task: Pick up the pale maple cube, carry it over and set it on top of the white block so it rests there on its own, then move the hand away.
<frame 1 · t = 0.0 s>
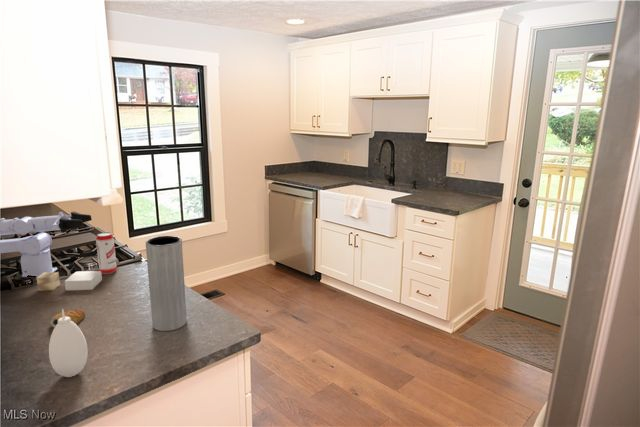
hand: (86, 220, 159), 22 cm above the table, tool horizontal, fingers open, 7 cm apart
white block: (84, 285, 152), on the table
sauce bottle: (72, 375, 101), on the table
maple cube: (49, 287, 149), on the table
pastry: (68, 323, 126), on the table
vase: (169, 323, 126), on the table
beer can: (108, 272, 165), on the table
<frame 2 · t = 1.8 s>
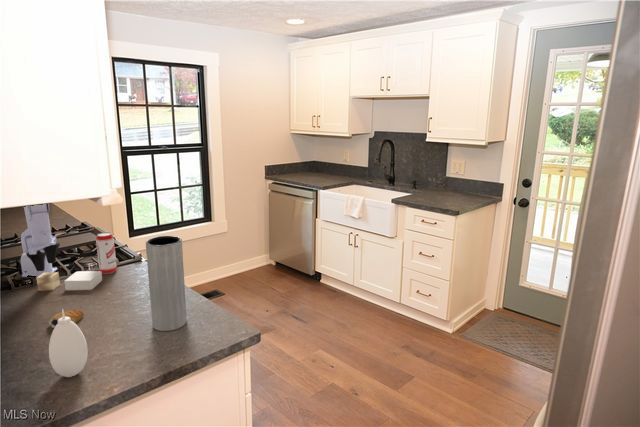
hand: (46, 266, 147), 8 cm above the table, tool pointing down, fingers open, 7 cm apart
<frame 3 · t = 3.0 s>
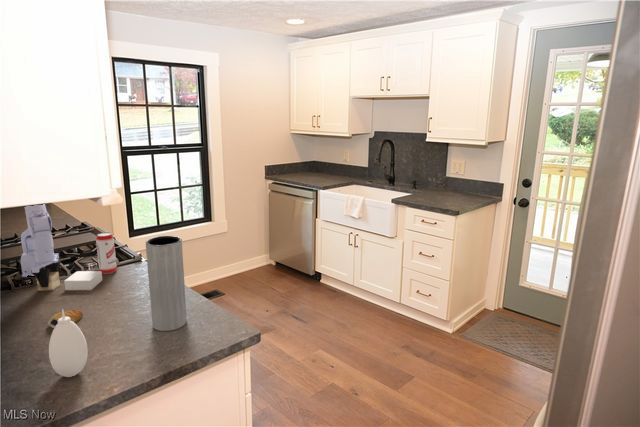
hand: (48, 283, 149), 1 cm above the table, tool pointing down, fingers closed on maple cube, 5 cm apart
maple cube: (49, 287, 149), on the table, touching gripper
everything else where it was.
when the fingers open (6 cm above the table, at t = 6.2 s): maple cube drops 1 cm, point 4 cm above the table.
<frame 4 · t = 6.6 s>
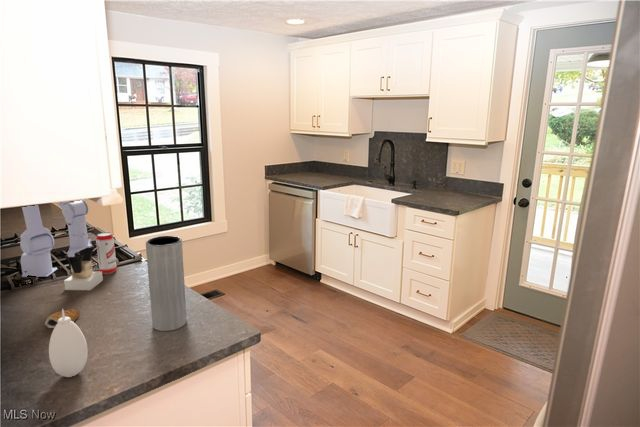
hand: (82, 268, 151), 6 cm above the table, tool pointing down, fingers open, 7 cm apart
maple cube: (82, 275, 151), point 4 cm above the table
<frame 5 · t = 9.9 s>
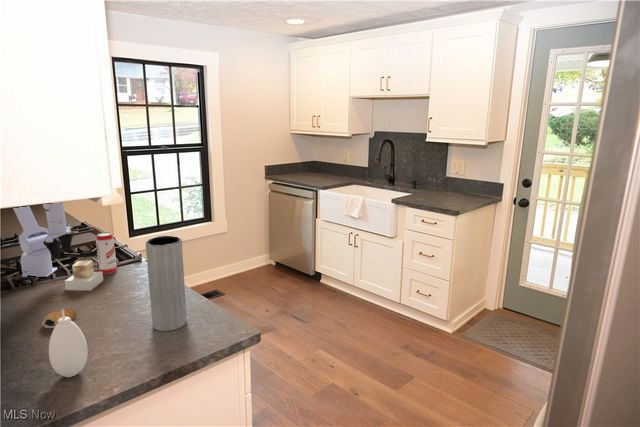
hand: (61, 255, 153), 10 cm above the table, tool pointing down, fingers open, 7 cm apart
white block: (85, 286, 152), on the table, touching maple cube
maple cube: (84, 275, 152), point 4 cm above the table, touching white block
at the end: maple cube 0.5 cm off-centre on the white block, point 4.0 cm above the white block's base; maple cube touching nothing; maple cube tilted 1° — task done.
